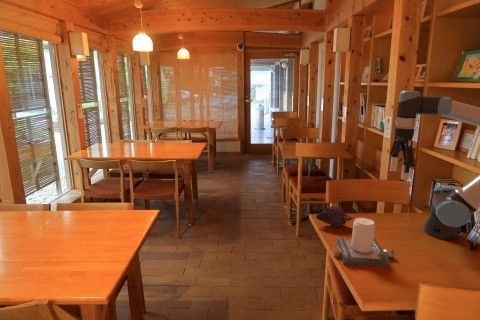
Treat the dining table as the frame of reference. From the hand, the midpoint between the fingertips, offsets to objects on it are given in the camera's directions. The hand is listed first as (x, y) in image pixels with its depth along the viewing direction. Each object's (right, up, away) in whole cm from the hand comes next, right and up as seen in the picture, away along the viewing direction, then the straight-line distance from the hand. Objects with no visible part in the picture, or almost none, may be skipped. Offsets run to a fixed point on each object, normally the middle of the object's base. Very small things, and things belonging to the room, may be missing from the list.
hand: (398, 175), depth 149 cm
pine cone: (-25, -26, +15) cm, 39 cm away
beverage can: (-21, -29, -13) cm, 39 cm away
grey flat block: (-21, -32, -13) cm, 41 cm away
